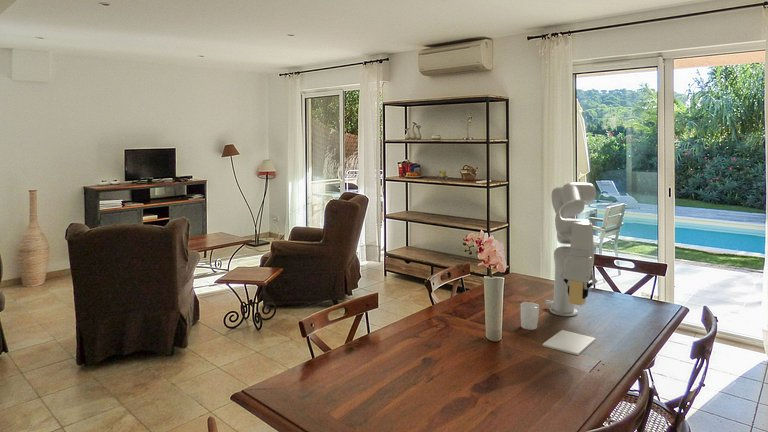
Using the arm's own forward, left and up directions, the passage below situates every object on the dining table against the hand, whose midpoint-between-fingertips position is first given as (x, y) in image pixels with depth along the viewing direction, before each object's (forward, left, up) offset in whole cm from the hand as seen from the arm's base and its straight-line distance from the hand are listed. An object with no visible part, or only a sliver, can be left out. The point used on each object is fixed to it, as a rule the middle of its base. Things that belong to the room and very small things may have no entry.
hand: (577, 296), depth 208 cm
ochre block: (0, 0, -3) cm, 3 cm away
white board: (0, -6, -18) cm, 19 cm away
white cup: (-20, 0, -18) cm, 27 cm away
